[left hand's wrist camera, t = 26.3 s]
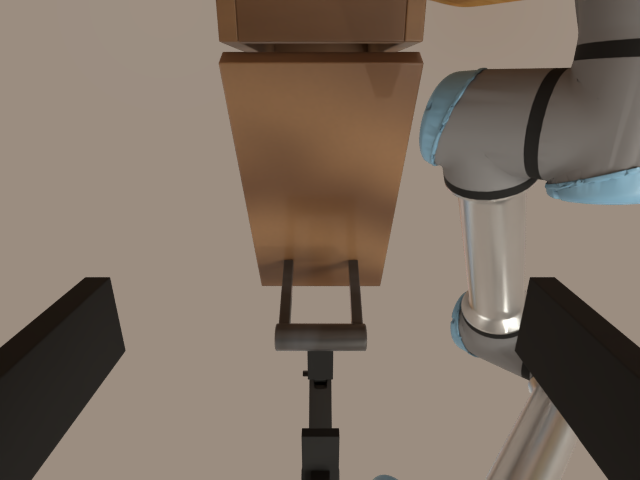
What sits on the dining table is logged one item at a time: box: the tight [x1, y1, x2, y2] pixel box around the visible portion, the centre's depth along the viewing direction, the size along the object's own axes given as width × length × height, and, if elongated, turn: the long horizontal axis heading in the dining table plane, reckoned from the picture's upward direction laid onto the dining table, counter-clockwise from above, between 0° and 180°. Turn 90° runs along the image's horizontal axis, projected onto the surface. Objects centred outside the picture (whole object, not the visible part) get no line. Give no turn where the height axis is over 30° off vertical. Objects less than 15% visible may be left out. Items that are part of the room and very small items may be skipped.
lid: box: [219, 52, 423, 351], centre depth 24 cm, size 18×10×8 cm
